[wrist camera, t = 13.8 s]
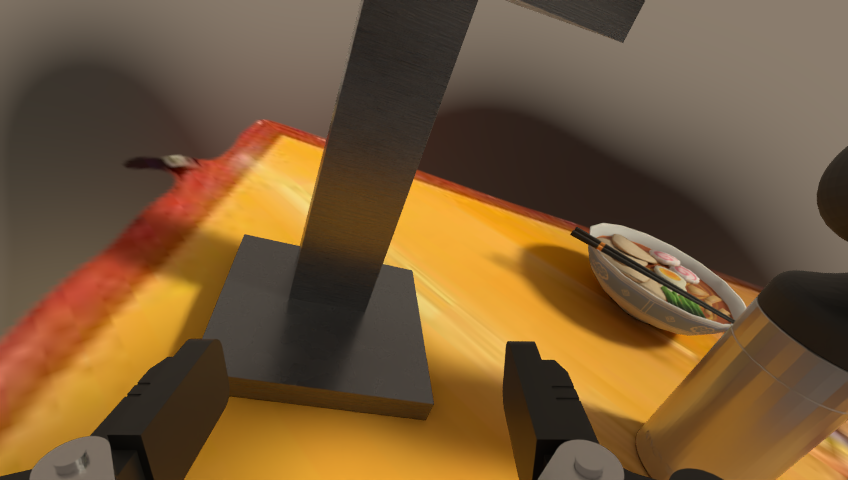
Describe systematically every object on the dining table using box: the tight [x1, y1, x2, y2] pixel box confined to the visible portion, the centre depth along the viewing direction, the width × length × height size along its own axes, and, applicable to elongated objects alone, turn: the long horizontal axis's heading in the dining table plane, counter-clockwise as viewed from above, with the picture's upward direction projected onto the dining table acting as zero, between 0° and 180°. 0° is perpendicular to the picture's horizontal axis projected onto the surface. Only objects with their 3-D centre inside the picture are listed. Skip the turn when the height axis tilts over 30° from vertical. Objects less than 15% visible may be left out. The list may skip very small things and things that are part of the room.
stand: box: [202, 0, 645, 420], centre depth 34 cm, size 18×18×34 cm
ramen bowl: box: [570, 223, 746, 335], centre depth 65 cm, size 25×23×8 cm
